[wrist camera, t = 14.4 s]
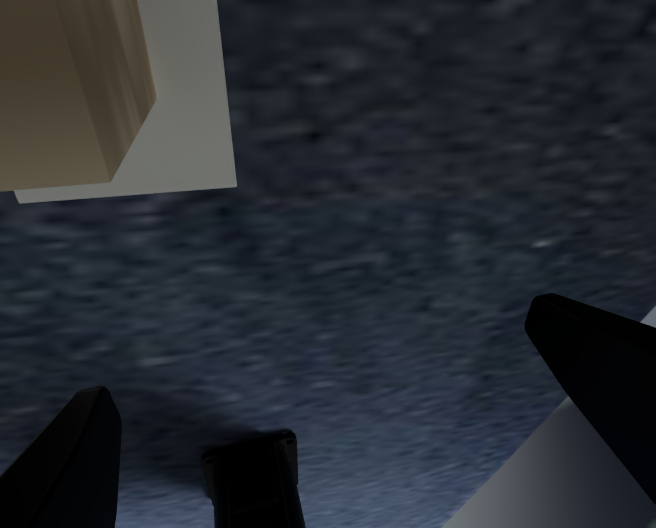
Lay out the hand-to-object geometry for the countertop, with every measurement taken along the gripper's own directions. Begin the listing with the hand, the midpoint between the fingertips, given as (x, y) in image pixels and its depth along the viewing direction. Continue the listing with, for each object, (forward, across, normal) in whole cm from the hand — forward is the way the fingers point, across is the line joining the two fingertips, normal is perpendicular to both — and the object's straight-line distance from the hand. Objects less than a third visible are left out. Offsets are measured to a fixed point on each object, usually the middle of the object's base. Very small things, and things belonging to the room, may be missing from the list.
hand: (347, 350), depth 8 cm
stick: (+10, +5, -5) cm, 13 cm away
